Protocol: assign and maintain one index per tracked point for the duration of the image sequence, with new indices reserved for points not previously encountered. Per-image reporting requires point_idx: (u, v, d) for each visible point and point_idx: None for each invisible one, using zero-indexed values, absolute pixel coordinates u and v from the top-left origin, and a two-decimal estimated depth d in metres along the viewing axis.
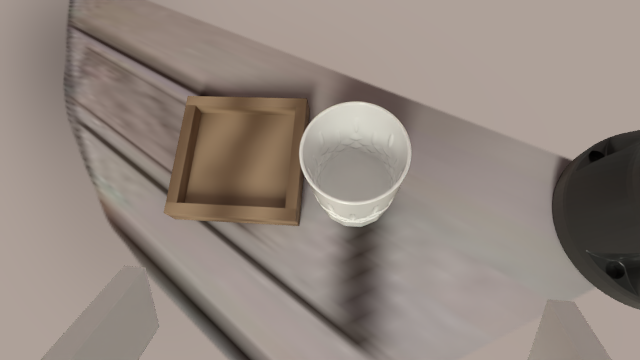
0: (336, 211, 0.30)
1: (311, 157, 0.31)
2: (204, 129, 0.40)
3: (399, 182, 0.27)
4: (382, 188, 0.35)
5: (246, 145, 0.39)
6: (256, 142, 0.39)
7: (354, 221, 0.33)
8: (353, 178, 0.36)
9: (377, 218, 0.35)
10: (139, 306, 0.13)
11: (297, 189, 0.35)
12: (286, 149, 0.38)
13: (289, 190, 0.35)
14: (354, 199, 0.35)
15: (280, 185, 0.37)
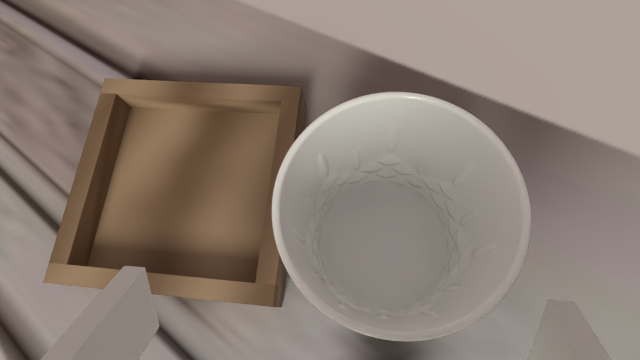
0: None
1: (302, 203, 0.15)
2: (133, 133, 0.24)
3: (506, 288, 0.11)
4: (431, 251, 0.19)
5: (198, 163, 0.23)
6: (215, 158, 0.23)
7: None
8: (379, 230, 0.20)
9: None
10: (139, 306, 0.13)
11: None
12: (264, 171, 0.23)
13: (264, 249, 0.20)
14: (380, 269, 0.20)
15: (251, 235, 0.22)
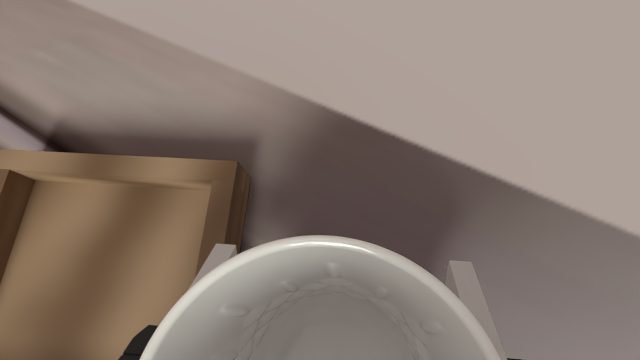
0: None
1: None
2: (35, 215, 0.20)
3: None
4: None
5: (112, 255, 0.19)
6: (133, 249, 0.19)
7: None
8: (331, 356, 0.15)
9: None
10: None
11: None
12: (193, 267, 0.18)
13: None
14: None
15: None
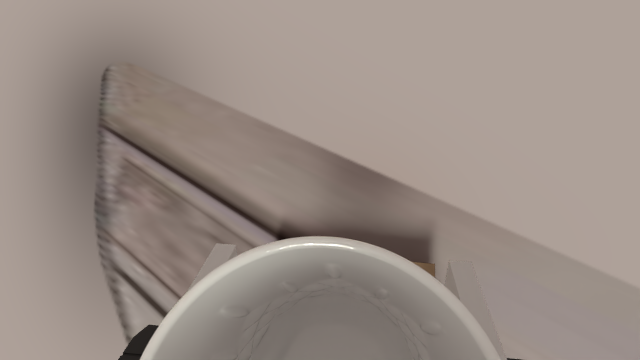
0: None
1: None
2: None
3: None
4: None
5: None
6: None
7: None
8: (331, 357, 0.15)
9: None
10: None
11: None
12: None
13: None
14: None
15: None
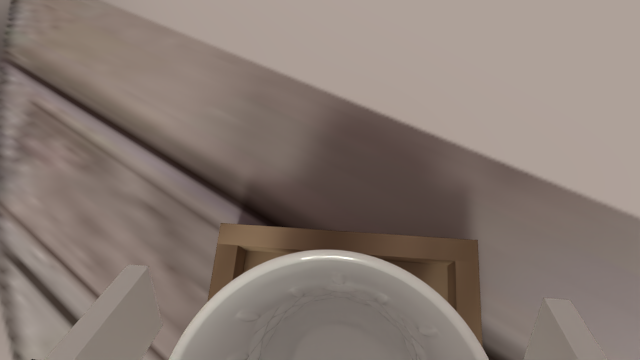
0: None
1: None
2: None
3: None
4: None
5: None
6: None
7: None
8: (335, 357, 0.17)
9: None
10: (143, 305, 0.13)
11: None
12: None
13: None
14: None
15: None
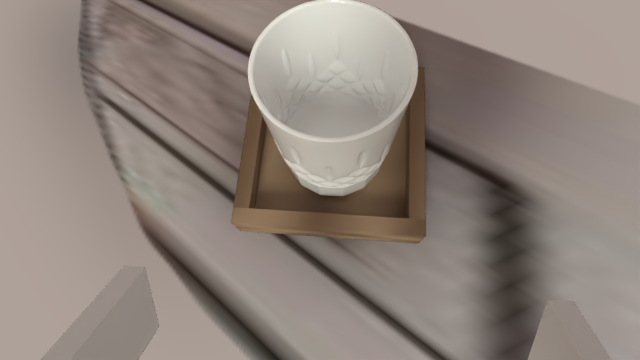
0: (305, 163, 0.20)
1: (271, 87, 0.21)
2: None
3: (399, 110, 0.17)
4: None
5: None
6: None
7: (332, 184, 0.23)
8: (333, 131, 0.26)
9: (364, 184, 0.25)
10: (139, 306, 0.13)
11: (424, 192, 0.25)
12: None
13: (413, 193, 0.25)
14: None
15: (390, 186, 0.27)
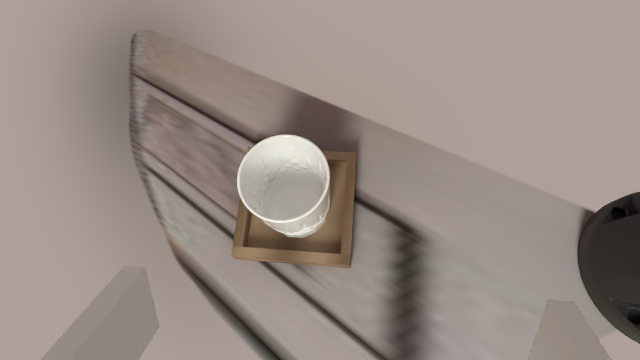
0: (271, 226, 0.35)
1: (252, 180, 0.36)
2: None
3: (317, 204, 0.32)
4: None
5: None
6: None
7: (292, 234, 0.38)
8: (295, 196, 0.41)
9: (315, 231, 0.40)
10: (139, 306, 0.13)
11: (351, 236, 0.39)
12: (337, 197, 0.42)
13: (343, 237, 0.39)
14: (295, 214, 0.40)
15: (333, 231, 0.41)
